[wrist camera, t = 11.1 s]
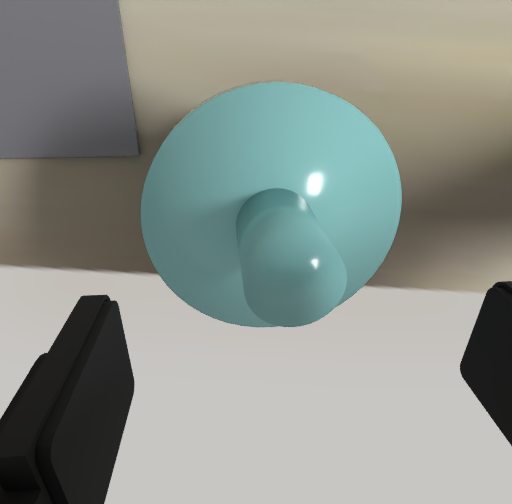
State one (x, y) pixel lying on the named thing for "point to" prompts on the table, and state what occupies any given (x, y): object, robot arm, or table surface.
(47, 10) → the mat
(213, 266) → the lid
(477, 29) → the table surface
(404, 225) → the table surface
